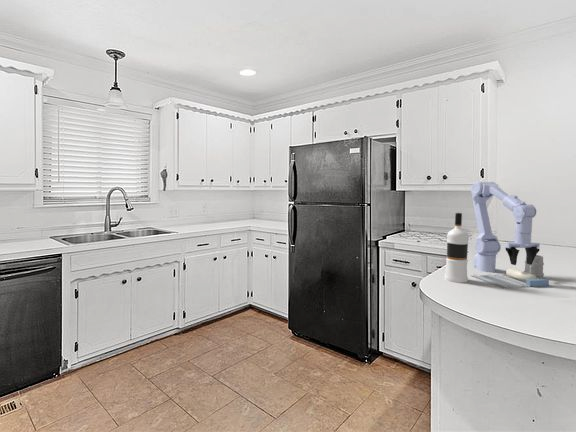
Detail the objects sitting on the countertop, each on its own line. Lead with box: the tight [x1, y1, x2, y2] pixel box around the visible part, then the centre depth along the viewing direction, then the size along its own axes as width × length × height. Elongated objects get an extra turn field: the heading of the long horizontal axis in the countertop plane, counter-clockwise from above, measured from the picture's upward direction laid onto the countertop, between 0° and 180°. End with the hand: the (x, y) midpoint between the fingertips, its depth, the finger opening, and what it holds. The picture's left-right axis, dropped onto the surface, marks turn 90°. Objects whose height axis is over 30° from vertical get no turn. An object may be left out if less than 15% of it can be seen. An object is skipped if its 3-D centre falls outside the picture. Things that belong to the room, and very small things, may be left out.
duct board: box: [471, 273, 553, 289], centre depth 149 cm, size 20×22×4 cm
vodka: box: [443, 212, 470, 284], centre depth 149 cm, size 9×9×30 cm
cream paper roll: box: [505, 267, 538, 282], centre depth 149 cm, size 12×4×4 cm, turn 8°
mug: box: [523, 254, 545, 279], centre depth 158 cm, size 8×12×12 cm, turn 139°
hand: (521, 264), depth 149 cm, fingers open, 7 cm apart
